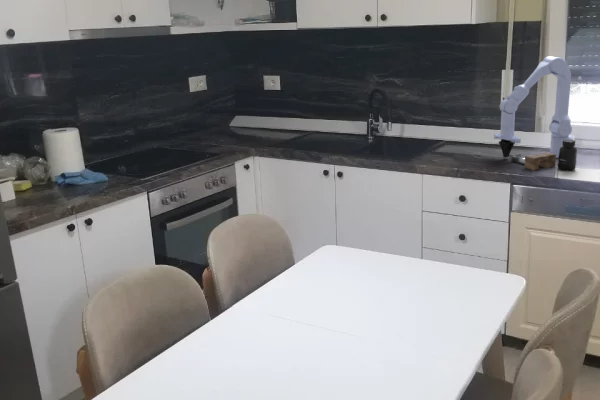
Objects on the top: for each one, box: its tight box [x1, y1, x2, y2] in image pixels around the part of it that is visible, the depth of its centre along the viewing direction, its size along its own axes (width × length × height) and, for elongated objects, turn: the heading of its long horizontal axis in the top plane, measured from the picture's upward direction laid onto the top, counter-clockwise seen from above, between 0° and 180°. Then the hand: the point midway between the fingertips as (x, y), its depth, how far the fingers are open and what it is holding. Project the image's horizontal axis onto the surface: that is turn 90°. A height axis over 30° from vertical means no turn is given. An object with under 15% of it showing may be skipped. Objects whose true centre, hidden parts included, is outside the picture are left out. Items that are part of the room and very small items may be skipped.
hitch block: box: [524, 152, 557, 171], centre depth 261 cm, size 12×5×5 cm, turn 115°
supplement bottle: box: [557, 139, 578, 172], centre depth 254 cm, size 7×7×12 cm
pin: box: [508, 153, 525, 165], centre depth 269 cm, size 9×6×3 cm, turn 25°
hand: (506, 156), depth 277 cm, fingers closed
